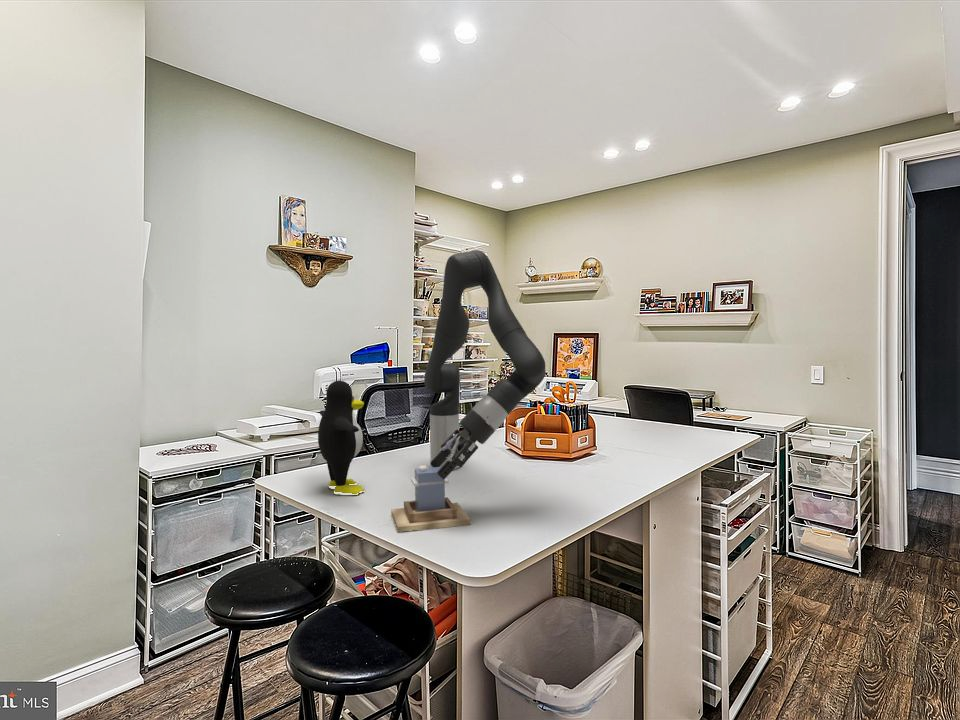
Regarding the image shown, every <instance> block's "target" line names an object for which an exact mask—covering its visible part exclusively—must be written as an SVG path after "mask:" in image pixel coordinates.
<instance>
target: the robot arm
mask: <svg viewBox="0 0 960 720" xmlns="http://www.w3.org/2000/svg"><path fill="white" fill-rule="evenodd" d="M476 287H481V288H482V289H483V291H484V292H485V295H486V297H487V301H488V305H487V306H488V307H487V320H488V326H489V329H490V331H491V333H492V335H493V336H494V338H495V340H496V341H497V343H498V345H499V346H500V347H501V349H502V350H503V352H504V353H506V354H507V356H508V357H509V360H510V361H511V363H512V364H513V367H514V368H515V370H514V371H513V372H512V373H511V374H510V375H509V376H508V377H506V378H505V379H501V380H499V381H498V382H497V383H496V384H495V385H494V386H492V388H491V389H490V390H489V391H488V392H487V393H486V394H485V396H483V397H482V398H481V399H479V401H478V402H477V403H476V404H475V405H474V406H473V407H472V408H471V409H470V410H469V411H468V412H467V413H466V415H465V416H464V417H462V419H461V420H460V390H461V389H460V388H461V385H460V384H461V371H460V367H459V366H458V364H457V363H454V362H453V363H446V362H447V360H449V359H450V358H451V357H452V356H454V355H455V354H456V353H458V351H459V350H461V348H462V347H463V346H464V344H465V343H466V341H467V338H468V337H467V336H468V334H469V329H470V318H469V316H468V314H467V311H466V310H465V309H464V306H463V305H462V296H463V293H464V291H465V290H466V289H471V288H476ZM438 313H439V314H438V318H437V322H436V326H435V331H434V336H433V337H434V338H433V343H432V349H431V352H430V355H429V358H428V362H427V364H426V368H425V371H424V377H423V378H424V380H423V381H424V388H425V389H426V391H427V392H429V393H433V394H444V393H447V394H446V396H445V397H444V398H443V399H441V400H439V401H437V402H435V403H433V404H431V405H430V407H429V449H430V451H429V453H430V454H429V455H430V459H429V460H430V461H429V462H430V463H429V464H430V468H433V467H441V468H440V469H439V470H438V472H437V474H438V475H439V476H440V477H441V478H442V479H445V478H448V476H449V475H450V474H451V473H452V472H453V471H454V470H457V469H460V468H462V467H463V466H464V465H465V464H466V463H467V462H468V461H469V459H470V458H471V457H472V456H473V455H474V453H475V452H476V451H477V450H478V449H479V446H478V445H477V444H476V442H478V443H479V444H480V445H484V444H485V443H486V442H487V441H488V440H489V439H490V437H491V436H492V435H493V434H494V433H495V432H496V431H497V430H498V428H499V427H501V425H502V424H503V423H504V421H505V420H506V419H507V417H508V416H509V415H510V414H511V413H512V412H513V411H514V409H515V408H516V407H517V406H518V405H519V404H520V402H521V401H522V400H523V399H525V398H526V397H527V396H528V395H530V394H531V393H532V392H533V391H534V390H535V389H537V387H538V386H539V385H540V384H541V383H542V381H543V380H544V379H545V377H546V361H545V359H544V356H543V354H542V353H541V352H540V349H538V347H537V346H536V344H534V342H533V341H532V340H531V339H530V337H528V334H527V333H526V331H525V329H524V328H523V326H522V324H521V323H520V321H519V319H518V318H517V316H516V315H515V313H514V312H513V309H512V308H511V305H510V304H509V302H508V300H507V298H506V295H505V292H504V290H503V287H502V284H501V282H500V280H499V277H498V276H497V273H496V270H495V268H494V267H493V264H492V262H491V260H490V259H489V257H488V255H487V254H486V253H485V252H484V251H482V250H477V249H476V250H470V251H464V252H459V253H454V254H452V255H450V256H449V257H448V259H447V261H446V264H445V267H444V275H443V285H442V297H441V302H440V308H439V312H438ZM460 427H462V428H463V429H462V430H461V431H460Z"/></svg>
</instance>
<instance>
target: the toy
mask: <svg viewBox="0 0 960 720" xmlns="http://www.w3.org/2000/svg"><path fill="white" fill-rule="evenodd" d="M325 403H326V404H325V408H324V410H320V411H319V414H320V416H321V418H320V421H319V425H318V434H317V443H318V444H317V445H318V448H319V452H320V454H321V456H322V458H323V459H324V460H325V461H326V465H327V469H328V470H327V471H328V474H329V479H330V482H329V484H328V485H329V486H336V487H335V489H333V491H335V492H342V493H352V494H357V493H359V492H360V491H364V490H365V489H364V488H363V487H362V485H360V484H357V485H349V484H355V483H357V482H356V481H354V479H352V478H348V473H349V469H350V466H351V463H352V462H353V460H354V458H356V456H357V455H358V454H359V453H360V451H361V449H362V447H363V443H364V441H363V440H364V438H363V437H364V435H363V431H362V428H361V426H360V425H359V423H357V419H356V416H355V414H354V411H355V410H356V411H357V410H360V409H362V408H363V407H364V405H365V402H364V401H362V400H359V399H357V398H356V399H355V397H354V395H353V390H352V387H351V386H350V385H349V383H347V382H346V381H344V380H334V381H333V382H331V383H330V384H329V385H328V387H327V389H326V401H325Z"/></svg>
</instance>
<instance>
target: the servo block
mask: <svg viewBox="0 0 960 720" xmlns="http://www.w3.org/2000/svg"><path fill="white" fill-rule="evenodd" d="M440 468H441V467H433V468H431V467H427V466H426V465H419V468H415V469H414V477H411V478H410V482H411V483H412V485H413V487H414V496H415V497H414V498H415V500H414V501H415V512H421V511H430V510H440V509H445V498H446V493H445V492H446V490H445V489H446V486H445V485H446V484H449V483H450V482H449V479H448V477H446V478H445V479H442V478H441V477H440V476H439V475H438V474H437V472H438V470H439V469H440Z"/></svg>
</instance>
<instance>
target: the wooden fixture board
mask: <svg viewBox="0 0 960 720" xmlns="http://www.w3.org/2000/svg"><path fill="white" fill-rule="evenodd" d="M390 513H392V515H391V517H392V516H393V517H392V520H393V519H394V520H393V523H394V522H395V523H394V525H395V524H396V526H395V528H396V527H397V529H396V531H397V530H398V531H397V533H398V532H400V533H403V532H402V531H409V532H411V531H410V530H418V531H425V530H424V529H426V530H435V529H442V528H451V527H460V526H461V527H462V526H468V525H469V526H470V525H471V521H472V520H471V518H470V517H469V515H468V514H467V512H466V511H465V510H464V509H463V507H462V506H461V505H460V504H459V502H452V501H451V500H450V499H449V497H446V496H445V509H440V510H430V511H421V512H415V500H407V501H405V500H404V501H403V507H400V508H399V507H398V508H391V512H390Z"/></svg>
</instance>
